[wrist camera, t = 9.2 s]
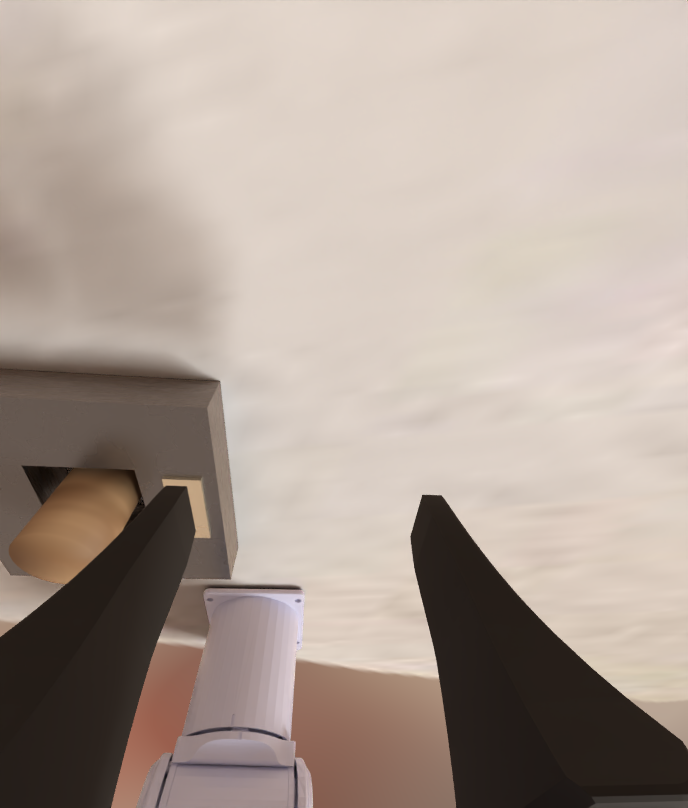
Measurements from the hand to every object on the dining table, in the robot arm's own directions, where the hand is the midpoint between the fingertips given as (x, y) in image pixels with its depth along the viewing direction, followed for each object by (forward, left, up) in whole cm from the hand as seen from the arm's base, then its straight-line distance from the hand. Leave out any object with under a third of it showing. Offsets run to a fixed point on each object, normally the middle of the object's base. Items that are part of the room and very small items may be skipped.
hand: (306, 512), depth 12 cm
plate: (-8, +12, -9) cm, 17 cm away
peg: (-8, +12, -9) cm, 17 cm away
